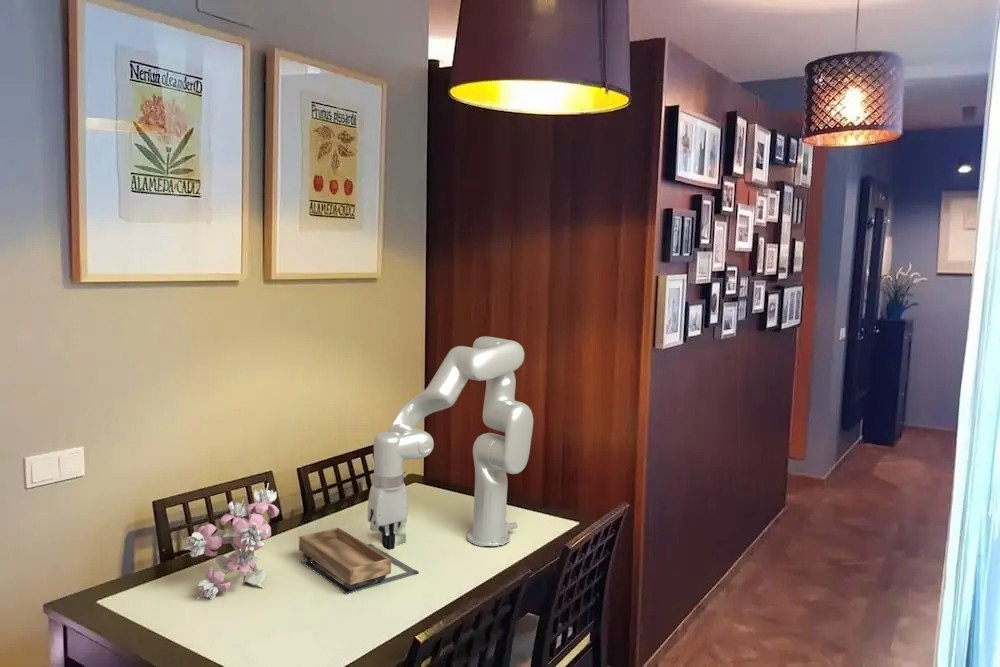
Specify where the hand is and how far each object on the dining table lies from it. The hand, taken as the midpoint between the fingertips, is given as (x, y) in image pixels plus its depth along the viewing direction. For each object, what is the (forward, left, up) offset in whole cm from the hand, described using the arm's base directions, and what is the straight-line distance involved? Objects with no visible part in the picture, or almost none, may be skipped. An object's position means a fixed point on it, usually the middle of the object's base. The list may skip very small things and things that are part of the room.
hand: (388, 547), depth 203 cm
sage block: (-12, -15, -6) cm, 20 cm away
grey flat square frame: (+6, -5, -6) cm, 10 cm away
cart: (+10, -5, -6) cm, 13 cm away
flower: (+37, -11, -6) cm, 39 cm away
